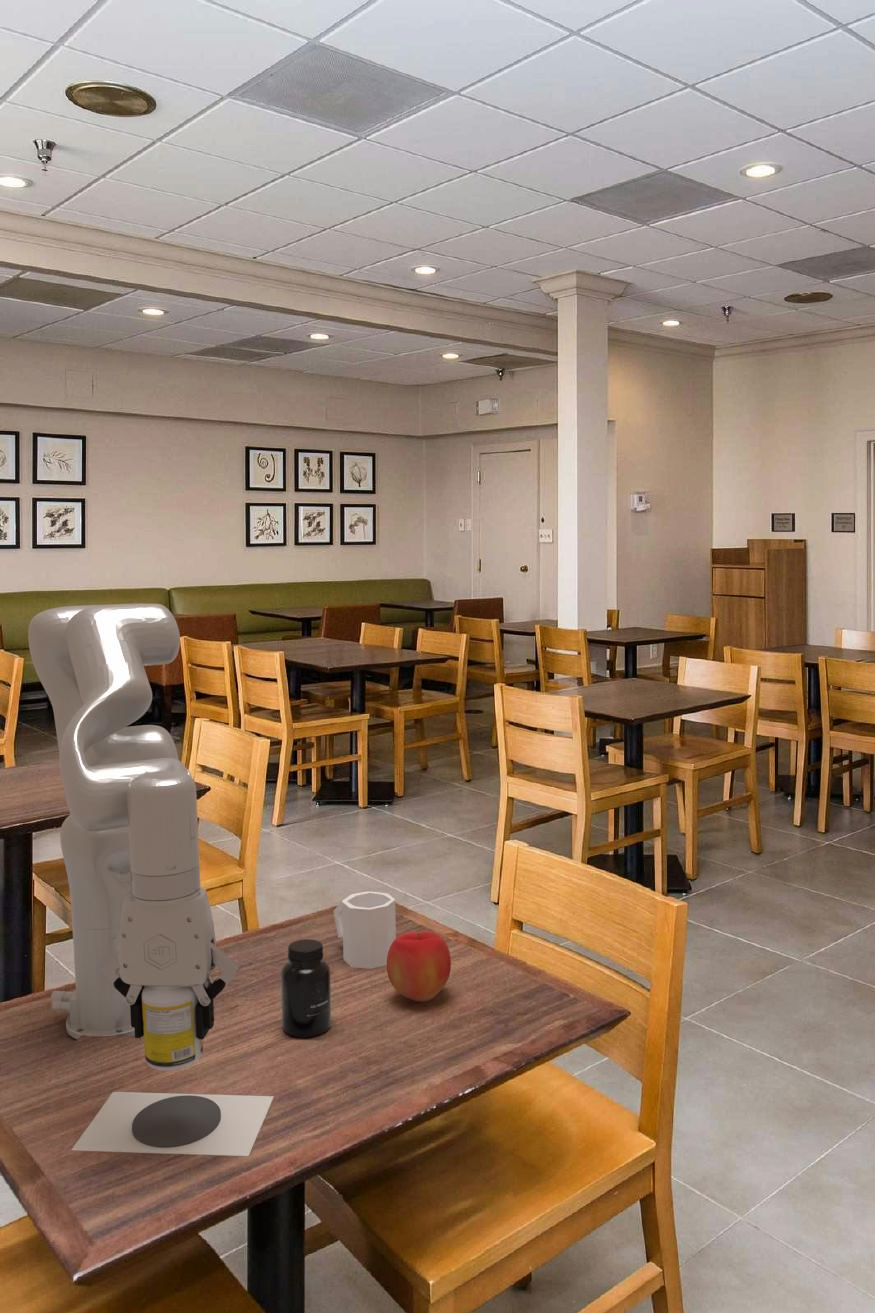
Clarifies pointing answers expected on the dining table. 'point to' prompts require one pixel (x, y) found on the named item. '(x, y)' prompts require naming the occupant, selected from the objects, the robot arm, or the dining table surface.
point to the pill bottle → (170, 1027)
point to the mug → (366, 928)
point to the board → (227, 1139)
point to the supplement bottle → (306, 990)
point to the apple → (418, 965)
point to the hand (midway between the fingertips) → (173, 1032)
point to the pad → (176, 1121)
